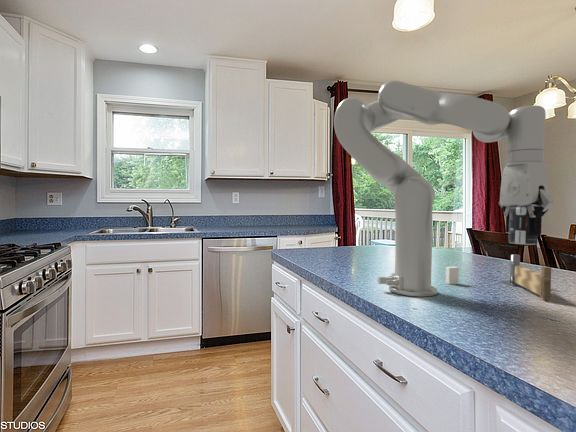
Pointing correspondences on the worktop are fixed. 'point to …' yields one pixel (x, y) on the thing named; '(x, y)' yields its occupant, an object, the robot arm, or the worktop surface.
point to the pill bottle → (520, 226)
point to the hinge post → (513, 270)
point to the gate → (535, 280)
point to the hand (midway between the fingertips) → (522, 232)
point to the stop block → (452, 275)
